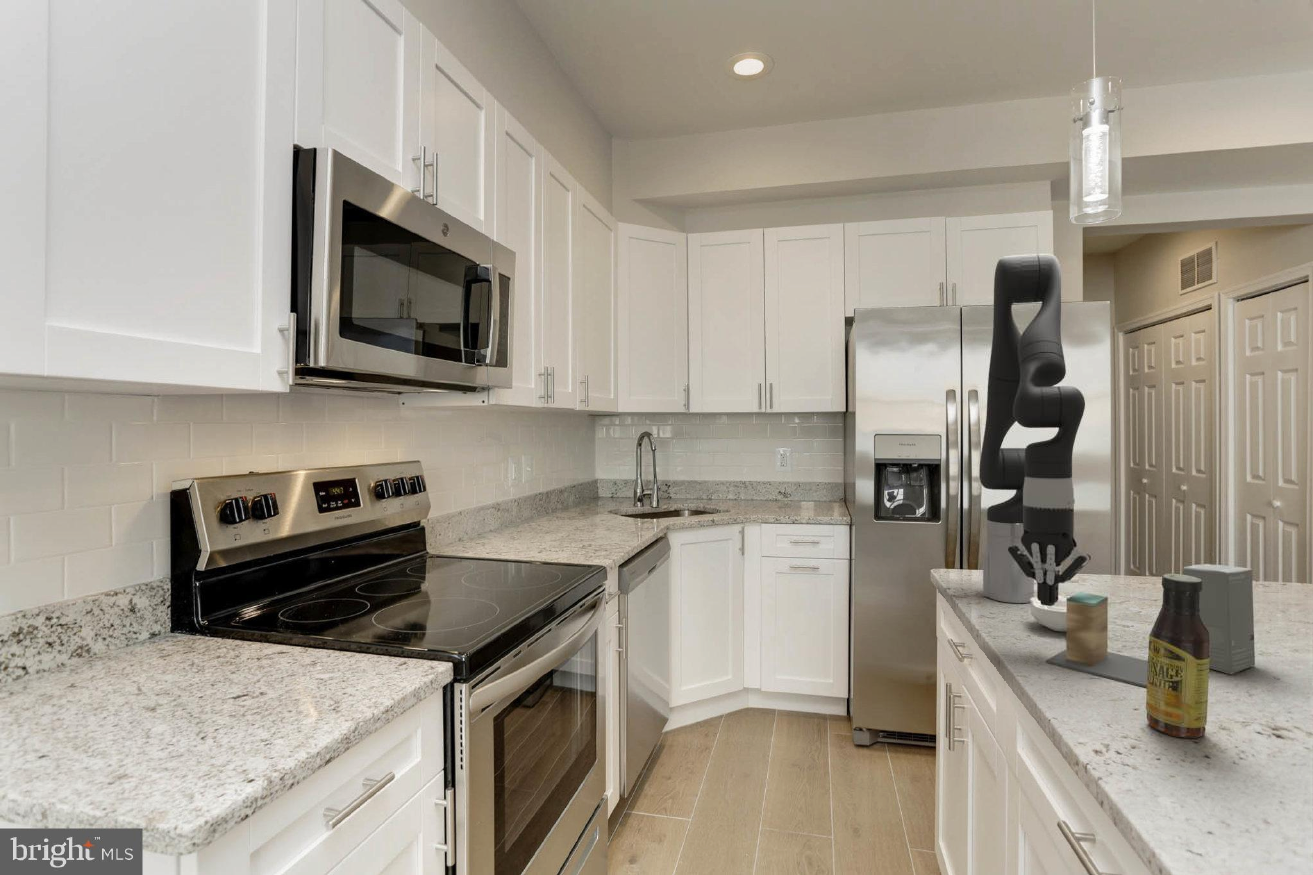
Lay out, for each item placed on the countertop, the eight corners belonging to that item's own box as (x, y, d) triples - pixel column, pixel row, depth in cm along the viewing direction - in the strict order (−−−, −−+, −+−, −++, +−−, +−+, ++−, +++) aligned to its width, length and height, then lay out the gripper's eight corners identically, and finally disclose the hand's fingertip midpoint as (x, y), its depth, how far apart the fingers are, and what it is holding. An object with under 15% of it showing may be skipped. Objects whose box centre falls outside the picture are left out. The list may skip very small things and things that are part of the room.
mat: (1045, 662, 112) (1045, 660, 112) (1075, 646, 120) (1075, 644, 120) (1163, 692, 100) (1163, 689, 100) (1188, 672, 107) (1188, 669, 107)
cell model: (1097, 626, 131) (1098, 591, 131) (1083, 642, 122) (1083, 604, 122) (1038, 617, 138) (1038, 583, 138) (1021, 630, 129) (1021, 595, 129)
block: (1066, 659, 113) (1066, 598, 113) (1080, 650, 117) (1080, 592, 116) (1093, 665, 110) (1093, 603, 109) (1107, 657, 113) (1107, 596, 113)
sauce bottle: (1134, 720, 91) (1134, 571, 90) (1178, 717, 91) (1179, 569, 91) (1175, 743, 84) (1176, 582, 84) (1222, 740, 85) (1224, 581, 84)
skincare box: (1231, 676, 106) (1232, 573, 105) (1179, 661, 112) (1179, 565, 112) (1258, 666, 110) (1259, 567, 109) (1205, 653, 116) (1206, 559, 116)
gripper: (998, 502, 120) (998, 600, 120) (1081, 509, 110) (1081, 617, 110) (1018, 498, 125) (1018, 593, 125) (1100, 505, 114) (1099, 608, 115)
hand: (1047, 604), depth 117 cm, fingers closed
